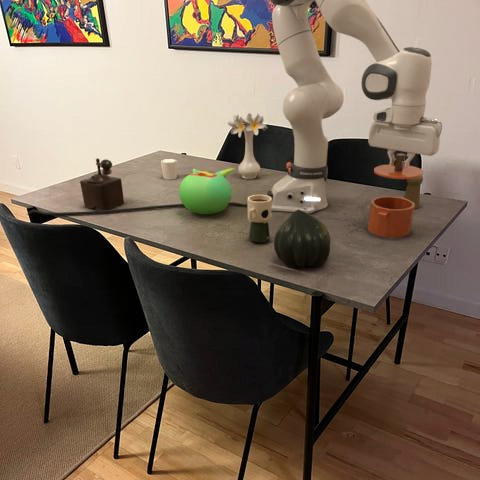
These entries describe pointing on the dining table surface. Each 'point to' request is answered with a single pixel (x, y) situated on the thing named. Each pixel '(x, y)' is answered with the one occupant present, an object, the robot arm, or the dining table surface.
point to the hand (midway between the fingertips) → (398, 166)
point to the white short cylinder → (169, 168)
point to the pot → (391, 216)
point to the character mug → (259, 217)
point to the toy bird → (206, 191)
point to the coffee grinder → (102, 189)
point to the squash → (302, 241)
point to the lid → (398, 170)
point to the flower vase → (248, 142)
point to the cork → (413, 190)
